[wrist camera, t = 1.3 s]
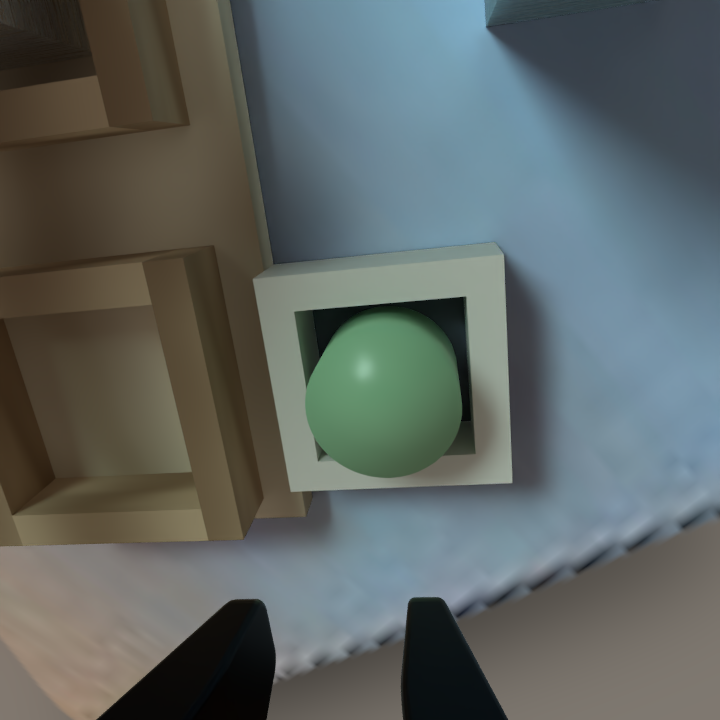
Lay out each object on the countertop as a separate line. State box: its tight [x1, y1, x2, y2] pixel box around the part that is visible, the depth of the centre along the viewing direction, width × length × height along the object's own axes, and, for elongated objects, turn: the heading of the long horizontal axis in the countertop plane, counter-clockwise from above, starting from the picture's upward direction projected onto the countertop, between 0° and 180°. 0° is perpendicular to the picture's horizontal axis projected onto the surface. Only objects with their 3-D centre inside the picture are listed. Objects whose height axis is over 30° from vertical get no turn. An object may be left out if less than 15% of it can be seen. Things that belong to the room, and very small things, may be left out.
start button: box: [305, 306, 462, 478], centre depth 14 cm, size 4×4×2 cm
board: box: [0, 0, 312, 546], centre depth 15 cm, size 10×19×3 cm, turn 7°
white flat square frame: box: [253, 242, 512, 492], centre depth 16 cm, size 6×6×2 cm
